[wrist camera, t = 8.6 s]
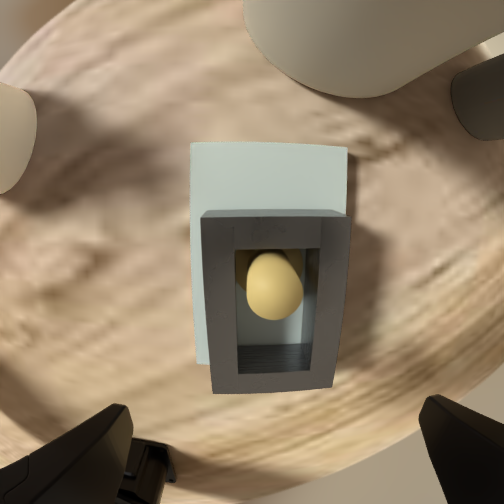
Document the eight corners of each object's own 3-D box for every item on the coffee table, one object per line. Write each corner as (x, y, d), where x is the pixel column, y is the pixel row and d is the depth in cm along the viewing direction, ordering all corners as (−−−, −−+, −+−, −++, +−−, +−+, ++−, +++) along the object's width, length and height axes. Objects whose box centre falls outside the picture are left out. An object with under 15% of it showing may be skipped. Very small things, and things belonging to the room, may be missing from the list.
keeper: (326, 355, 20) (349, 409, 14) (199, 356, 20) (183, 412, 14) (342, 149, 17) (383, 134, 11) (193, 144, 17) (167, 125, 11)
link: (320, 360, 19) (331, 387, 16) (215, 364, 19) (212, 393, 16) (332, 209, 16) (351, 216, 14) (207, 210, 16) (200, 217, 13)
